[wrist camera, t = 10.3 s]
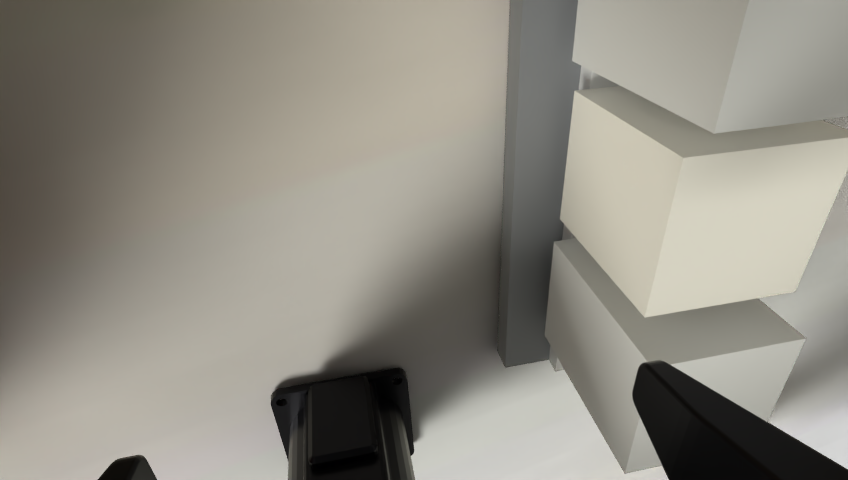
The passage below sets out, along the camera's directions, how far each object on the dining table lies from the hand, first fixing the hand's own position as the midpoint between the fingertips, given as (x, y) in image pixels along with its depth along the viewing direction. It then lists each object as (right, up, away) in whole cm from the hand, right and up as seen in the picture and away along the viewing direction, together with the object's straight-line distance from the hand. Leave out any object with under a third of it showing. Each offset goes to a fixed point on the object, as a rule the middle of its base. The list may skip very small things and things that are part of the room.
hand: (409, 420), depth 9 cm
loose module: (+8, +7, +10) cm, 14 cm away
